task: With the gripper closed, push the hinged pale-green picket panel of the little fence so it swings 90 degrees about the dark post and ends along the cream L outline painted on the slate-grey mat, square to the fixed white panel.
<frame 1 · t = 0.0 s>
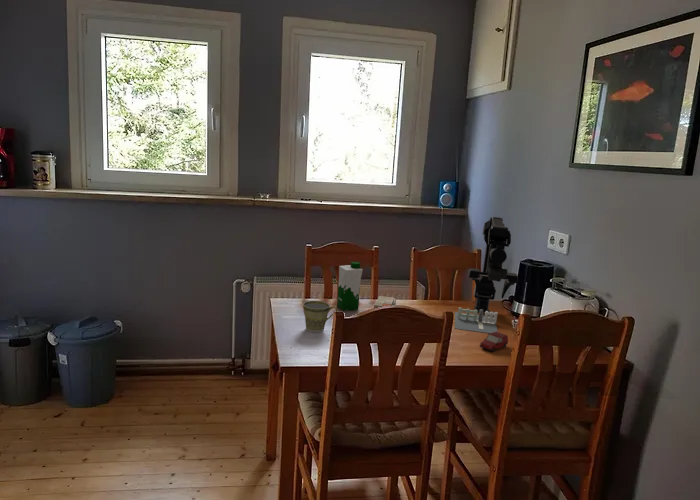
hand: (490, 296, 209), 15 cm above the table, tool pointing down, fingers open, 9 cm apart
fixed fence panel: (480, 322, 223), resting on layout mat
layout mat: (475, 322, 221), on the table
milk carton: (347, 308, 228), on the table
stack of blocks: (383, 328, 207), on the table
red toy car: (493, 348, 195), on the table
hinged fence panel: (467, 313, 223), point 3 cm above the table, hinge at 0.0°
ceramic cup: (318, 330, 199), on the table
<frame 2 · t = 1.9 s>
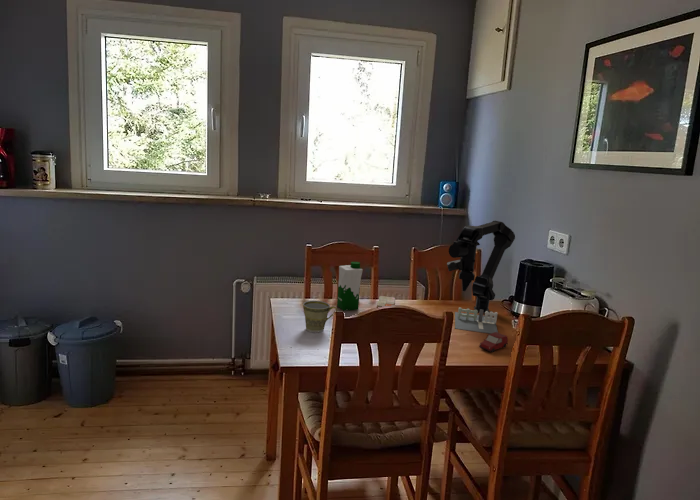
hand: (463, 290, 227), 11 cm above the table, tool pointing down, fingers closed
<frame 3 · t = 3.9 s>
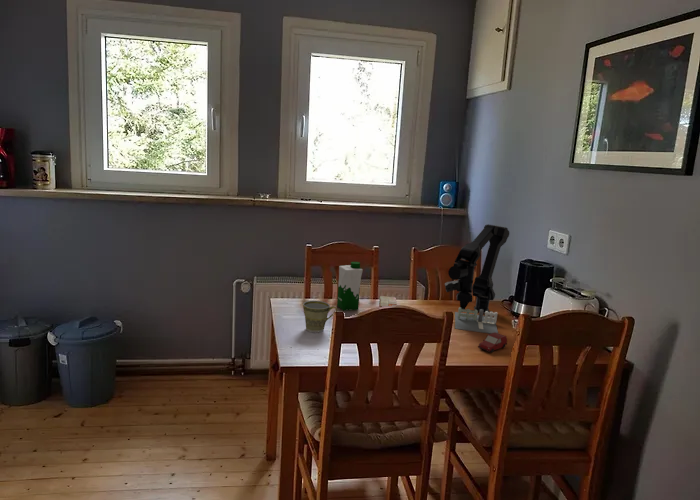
hand: (461, 311, 226), 3 cm above the table, tool pointing down, fingers closed
hinged fence panel: (467, 313, 223), point 3 cm above the table, hinge at 0.0°, touching gripper
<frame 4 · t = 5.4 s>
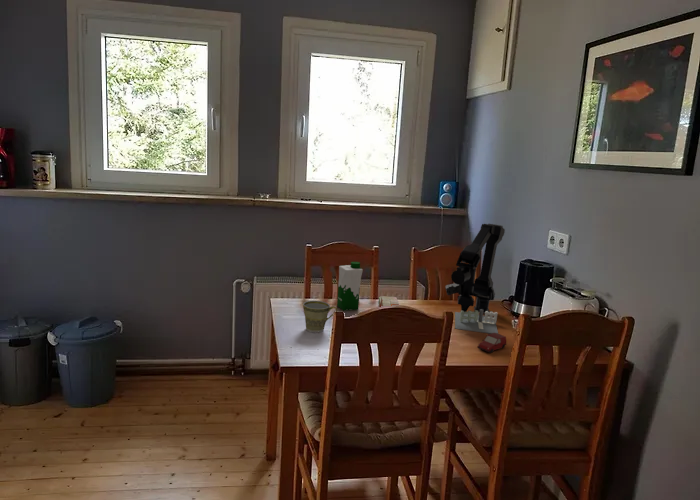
hand: (463, 314, 222), 3 cm above the table, tool pointing down, fingers closed
hinged fence panel: (469, 315, 221), point 3 cm above the table, hinge at 25.9°, touching gripper
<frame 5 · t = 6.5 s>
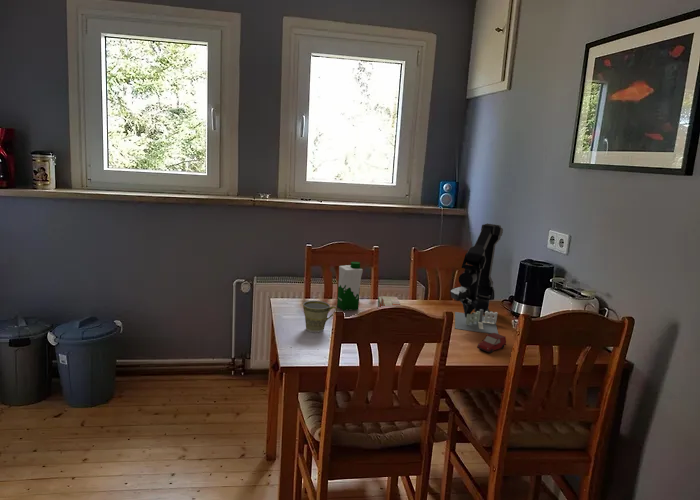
hand: (466, 317, 219), 3 cm above the table, tool pointing down, fingers closed
hinged fence panel: (473, 317, 219), point 3 cm above the table, hinge at 52.1°, touching gripper
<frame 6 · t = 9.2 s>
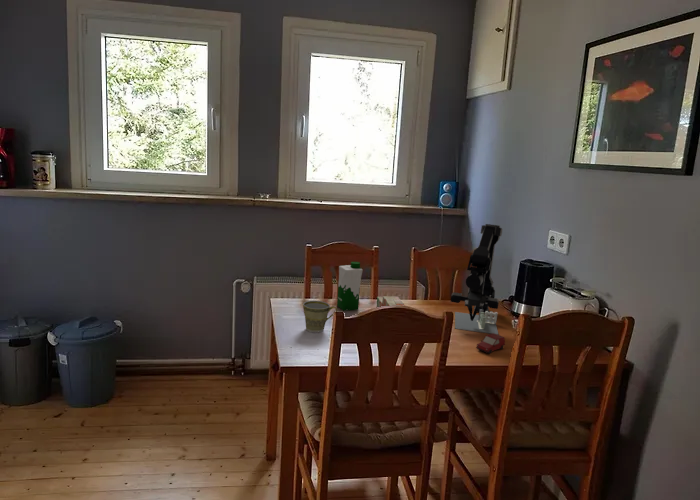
hand: (471, 320, 216), 3 cm above the table, tool pointing down, fingers closed
hinged fence panel: (482, 319, 217), point 3 cm above the table, hinge at 93.4°
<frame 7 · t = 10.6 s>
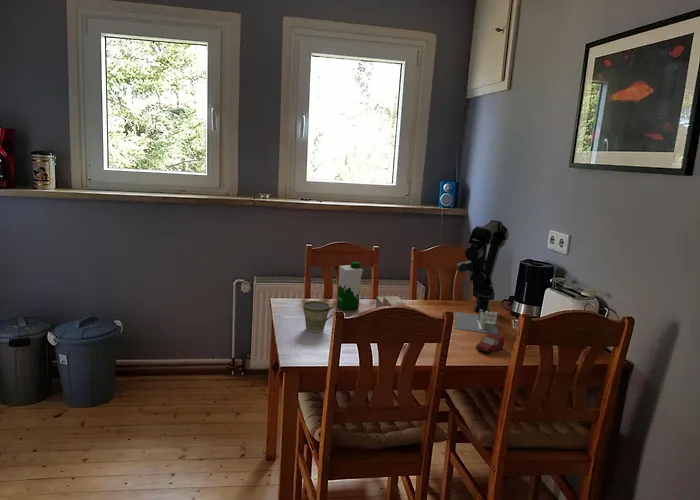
hand: (474, 292, 225), 12 cm above the table, tool pointing down, fingers closed
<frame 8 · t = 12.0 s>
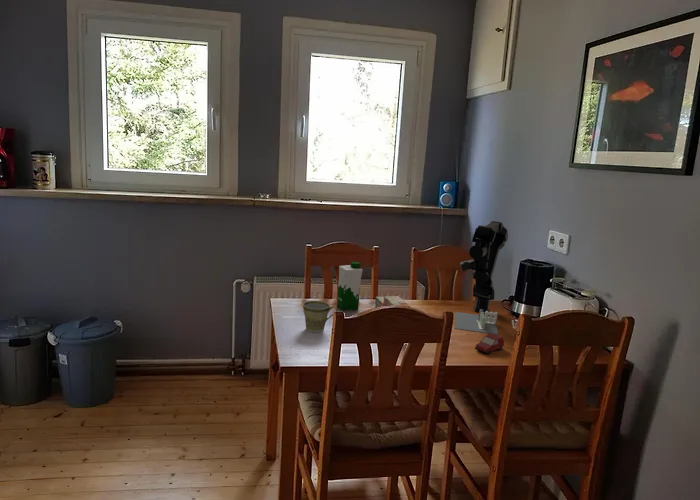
hand: (477, 291, 226), 12 cm above the table, tool pointing down, fingers closed
at the end: hinged fence panel at +93° (first picture: +0°); hinged fence panel touching nothing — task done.
